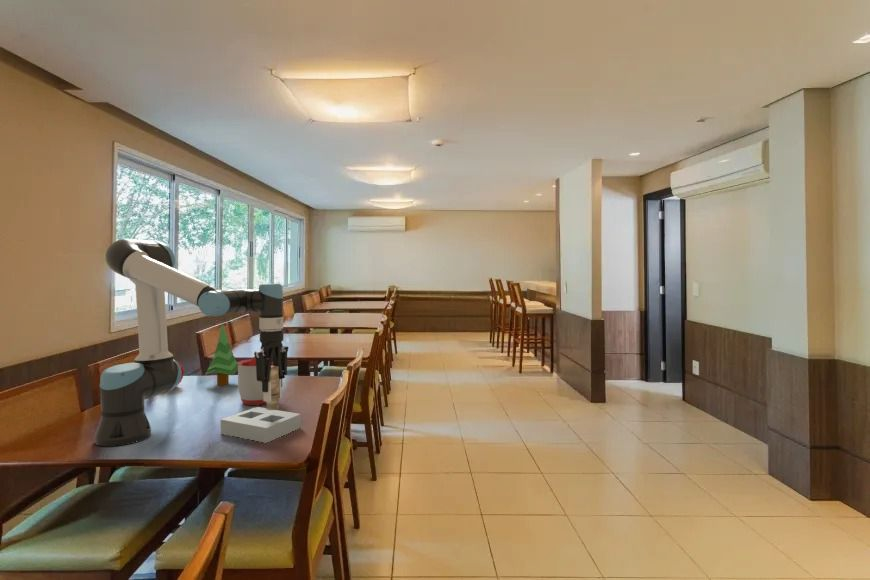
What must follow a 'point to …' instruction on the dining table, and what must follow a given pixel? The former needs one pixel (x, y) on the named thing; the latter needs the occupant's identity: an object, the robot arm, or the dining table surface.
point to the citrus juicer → (249, 383)
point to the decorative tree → (223, 360)
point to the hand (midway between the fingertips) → (272, 399)
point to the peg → (274, 389)
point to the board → (260, 424)
